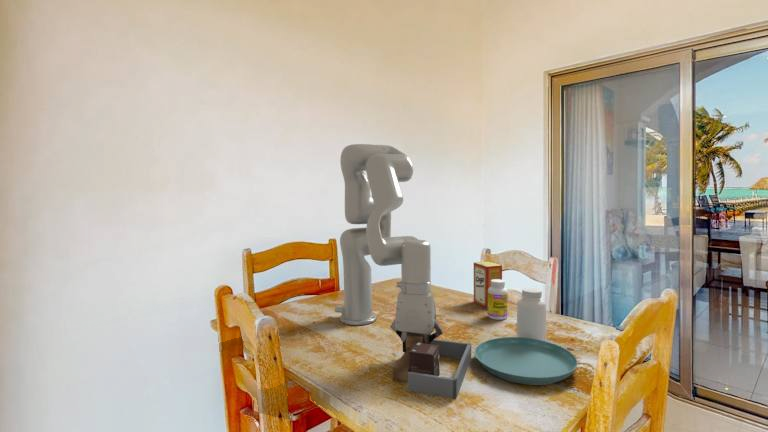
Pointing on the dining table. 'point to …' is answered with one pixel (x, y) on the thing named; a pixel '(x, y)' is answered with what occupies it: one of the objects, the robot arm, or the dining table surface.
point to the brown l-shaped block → (406, 358)
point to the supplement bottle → (497, 300)
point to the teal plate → (526, 360)
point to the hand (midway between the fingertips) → (416, 355)
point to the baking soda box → (484, 280)
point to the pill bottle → (531, 315)
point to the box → (424, 359)
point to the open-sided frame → (438, 383)
